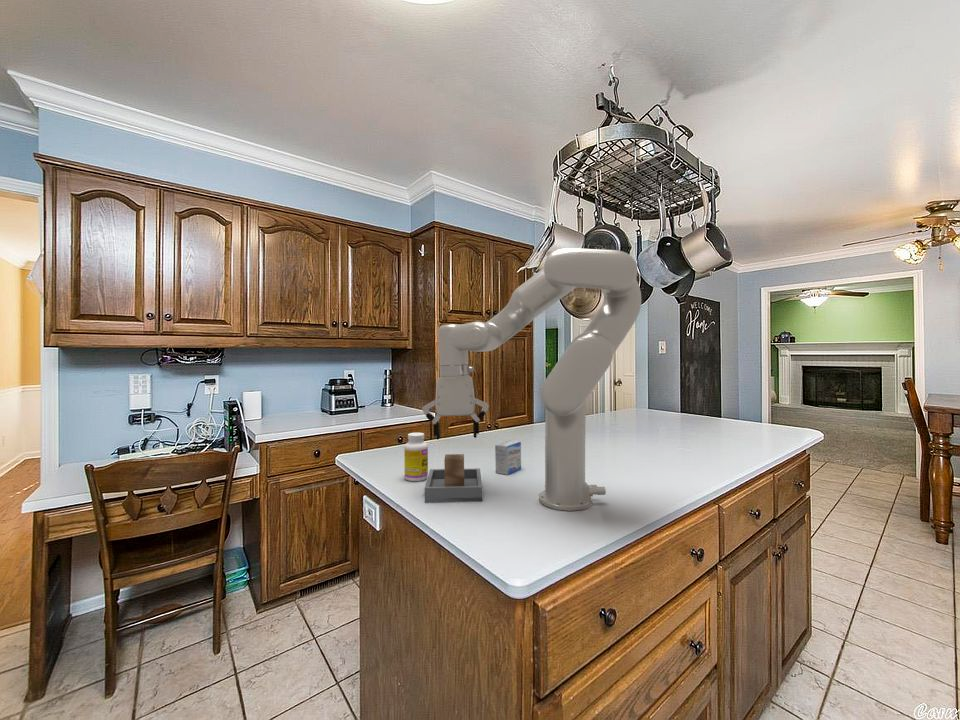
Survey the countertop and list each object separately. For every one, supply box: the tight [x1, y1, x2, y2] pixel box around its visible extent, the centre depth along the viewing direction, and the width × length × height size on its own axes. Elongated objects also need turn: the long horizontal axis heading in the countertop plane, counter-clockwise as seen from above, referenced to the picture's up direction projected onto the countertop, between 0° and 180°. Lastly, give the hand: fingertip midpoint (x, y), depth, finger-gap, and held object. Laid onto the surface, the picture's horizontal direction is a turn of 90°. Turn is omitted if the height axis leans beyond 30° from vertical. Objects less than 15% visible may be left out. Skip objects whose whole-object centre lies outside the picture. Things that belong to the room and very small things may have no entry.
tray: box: [424, 467, 483, 504], centre depth 108 cm, size 14×16×4 cm
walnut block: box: [443, 453, 465, 487], centre depth 108 cm, size 5×5×8 cm
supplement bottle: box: [403, 432, 429, 482], centre depth 119 cm, size 7×7×13 cm
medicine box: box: [494, 439, 522, 476], centre depth 125 cm, size 8×4×9 cm, turn 143°
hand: (456, 437), depth 107 cm, fingers open, 9 cm apart
